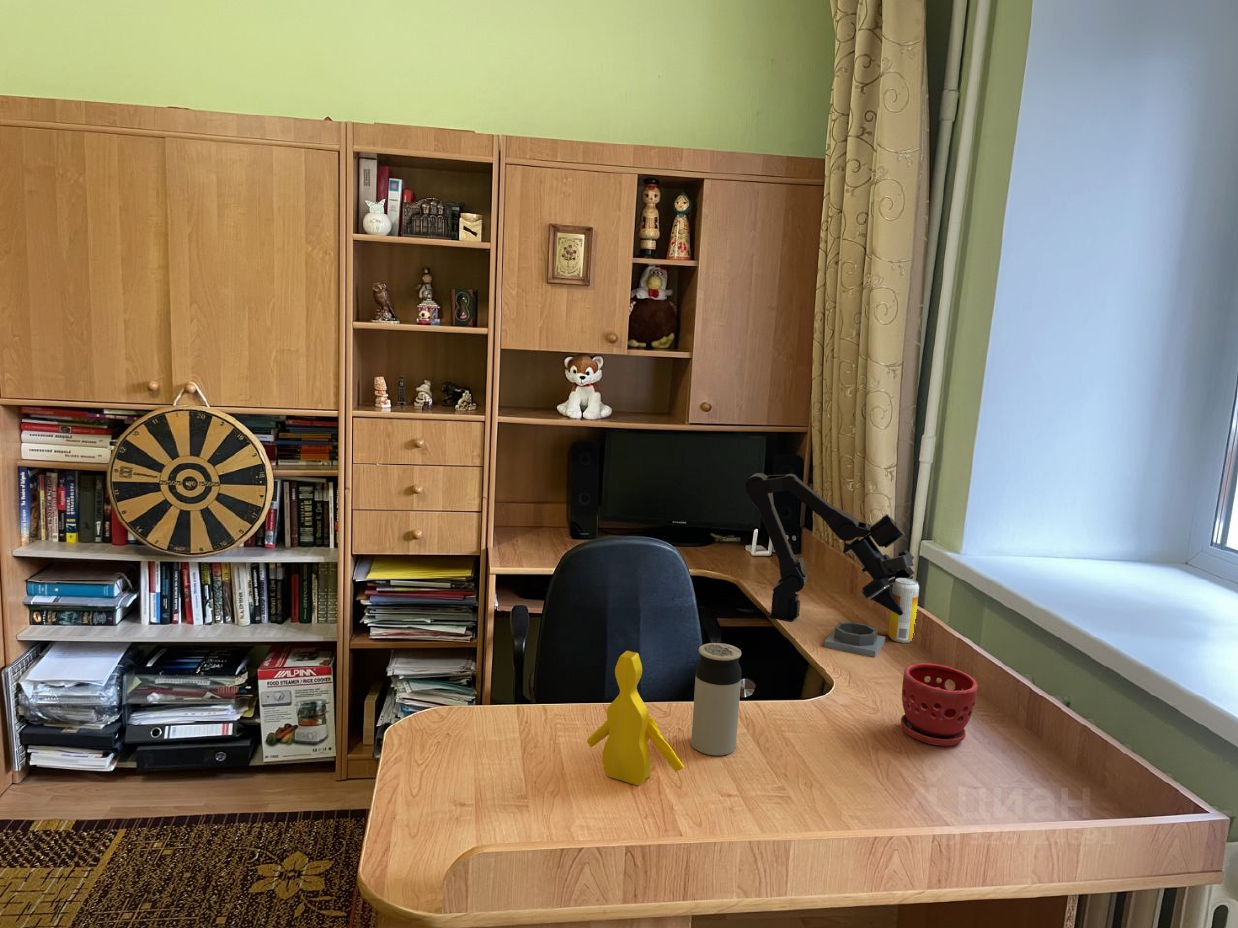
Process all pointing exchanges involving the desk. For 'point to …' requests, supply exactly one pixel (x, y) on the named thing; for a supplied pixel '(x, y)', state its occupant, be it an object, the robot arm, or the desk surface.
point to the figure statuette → (630, 729)
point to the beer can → (904, 610)
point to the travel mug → (716, 699)
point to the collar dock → (855, 639)
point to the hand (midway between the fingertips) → (909, 610)
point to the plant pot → (937, 703)
